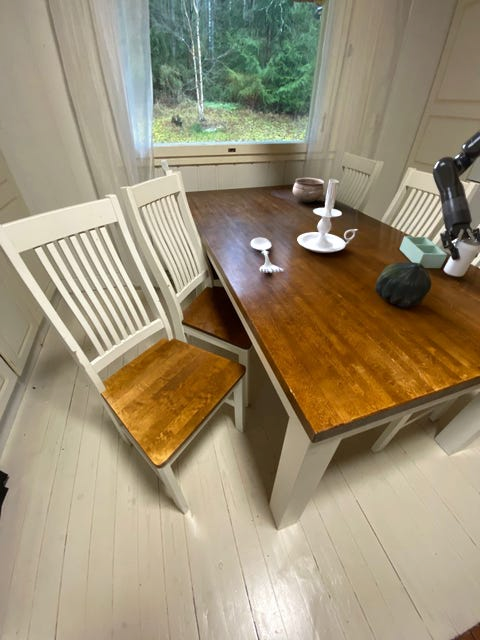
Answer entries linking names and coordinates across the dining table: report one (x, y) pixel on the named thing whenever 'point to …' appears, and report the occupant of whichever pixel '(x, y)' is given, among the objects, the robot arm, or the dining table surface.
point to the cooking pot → (308, 189)
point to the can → (462, 257)
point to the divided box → (423, 252)
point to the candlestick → (325, 226)
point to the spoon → (263, 246)
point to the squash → (403, 284)
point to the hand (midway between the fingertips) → (465, 258)
